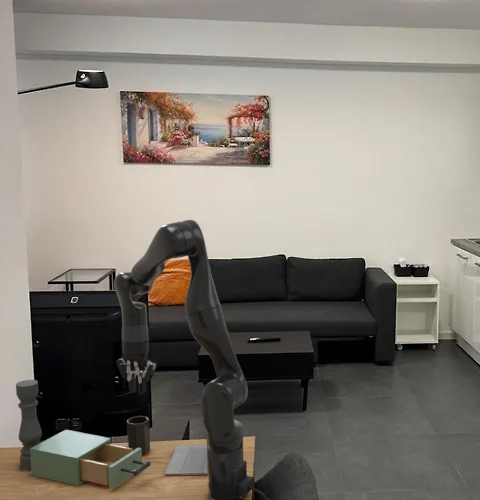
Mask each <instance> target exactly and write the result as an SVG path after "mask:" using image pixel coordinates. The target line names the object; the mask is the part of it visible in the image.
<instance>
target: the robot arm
mask: <svg viewBox="0 0 480 500" xmlns="http://www.w3.org/2000/svg"><path fill="white" fill-rule="evenodd" d="M183 257H187V259H188V263H189V267H190V279H189V284H188V288H187V292H186V296H185V300H184V314H185V317H186V321H187V324H188V328H189V330H190V333H191V335H192V336H193V338H194V339H195V341H196V342H197V343H198V344H199V345H200V346H201V347H202V349H204V350H205V351H206V353H207V354H208V356H209V357H210V359H211V361H212V364H213V366H214V370H215V373H216V378H215V379H213V380H210V381H209V382H207V384H205V386H204V388H203V391H202V398H201V399H202V413H203V414H202V415H203V425H204V428H205V430H206V435H207V434H208V474H207V477H208V479H207V481H208V483H207V487H208V500H243V498H245V497H246V496H247V495H248V494H249V493H250V492H251V491H253V492H255V493H257V494H258V495H260V496H261V497H262V498H263V499H264V500H270V498H269V497H267V496H266V494H265V493H264V492H263V491H261V490H260V489H258V488H256V487H254V486H255V485H254V484H255V483H254V480H255V479H254V476H251V475H248V473H247V472H248V471H247V467H248V466H247V463H248V462H247V460H244V427H243V424H242V422H240V420H237V419H235V418H234V416H235V415H234V410H235V409H237V408H239V406H242V404H244V403H245V402H246V400H247V399H248V394H249V389H248V388H249V387H248V383H247V380H246V378H245V375H244V372H243V370H242V368H241V365H240V363H239V361H238V358H237V355H236V352H235V350H234V346H233V343H232V341H231V338H230V334H229V331H228V328H227V324H226V319H225V317H224V313H223V309H222V305H221V302H220V300H219V296H218V293H217V290H216V286H215V283H214V279H213V276H212V272H211V266H210V262H209V256H208V251H207V245H206V242H205V238H204V234H203V231H202V228H201V226H200V225H199V223H198V222H197V221H196V220H194V219H186V220H182V221H175V222H171V223H167V224H164V225H162V226H161V227H160V228H159V229H158V230H157V232H156V233H155V234H154V237H153V238H152V240H151V242H150V244H149V246H148V248H147V250H146V252H145V253H144V255H143V256H142V257H140V259H139V260H138V261H137V262H136V263H134V264H133V267H131V270H130V271H125V272H120V273H118V274H117V275H116V276H115V278H114V283H113V286H114V290H115V293H116V295H117V298H118V301H119V305H120V309H121V323H122V325H121V326H122V327H121V345H122V346H121V347H122V355H123V357H121V358H119V359H117V360H116V361H115V364H116V367H117V368H118V371H119V373H120V375H121V378H122V379H124V380H125V379H126V380H127V382H128V383H127V385H128V391H129V393H130V394H134V393H136V392H137V391H138V393H137V394H138V395H140V396H142V395H144V394H145V393H146V391H147V382H148V381H151V380H152V379H153V377H154V374H155V372H156V369H157V367H158V363H157V362H152V361H151V360H150V357H149V352H150V337H149V325H148V309H147V305H146V303H144V302H141V301H133V300H132V297H133V296H139V295H145V294H147V293H149V292H151V291H152V289H153V287H154V286H153V285H154V283H155V281H156V280H157V279H158V278H159V277H160V276H161V275H162V274H163V272H164V270H165V267H166V262H167V261H170V260H172V259H180V258H183ZM136 377H137V380H138V382H137V380H136ZM137 384H138V385H137ZM137 388H138V390H137Z"/></svg>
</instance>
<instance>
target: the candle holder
mask: <svg viewBox="0 0 480 500" xmlns="http://www.w3.org/2000/svg"><path fill="white" fill-rule="evenodd" d="M15 393H16V397H17V399H18V400H19V403H18V404H17V407H18V408H19V410H20V413H21V420H20V427H19V432H18V440H19V442H20V443H21V445H22V447H21V449H20V455H19V465H20V469H21V470H22V471H23V470H24V471H32V470H31V455H30V448H32V447H34V446H36V445H38V444H39V443H40V440H41V438H42V435H43V431H42V428H41V425H40V422H39V420H38V416H37V406H38V405H39V401H38V400H37V397H38V394H39V382H38V380H36V379H25V380H20V381H18V382H16V383H15Z"/></svg>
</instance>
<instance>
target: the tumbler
mask: <svg viewBox="0 0 480 500" xmlns="http://www.w3.org/2000/svg"><path fill="white" fill-rule="evenodd" d="M126 429H127V430H126V434H127V448H132V449H133V450H135V449H137V448H141V451H142V457H143V456H146V455H148V453H149V452H151V436H150V435H151V434H150V433H151V431H150V419H149V417H148V416H145V415H137V416H133V417H130V418H128V419H127V420H126Z"/></svg>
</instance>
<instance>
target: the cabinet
mask: <svg viewBox="0 0 480 500" xmlns="http://www.w3.org/2000/svg"><path fill="white" fill-rule="evenodd" d="M106 443H107V444H112V438H111V437H108V436H107V437H106V436H101V435H96V434H92V433H85V432H80V431H76V430H70V429H64V430H63V431H61V432H59V433H57V434H55V435H53V436H51V437H49V438H47V439H45V440H43V441H42V442H39V443H38V445H36V446H34V447H32V448H30V455H31V470H30V471H31V476H32V477H38V478H42V479H47V480H51V481H55V482H59V483H64V484H68V485H71V486H72V485H73V486H77V487H79V486H81V485H82V484H84V483H85V482H87V481H86V480H81V479H80V467H79V459H81V458H83V457H85V456H86V455H88V454H90V453H91V452H93V451H95V450H96V449H98V448H100V447H101V446H103V445H105V444H106Z"/></svg>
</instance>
